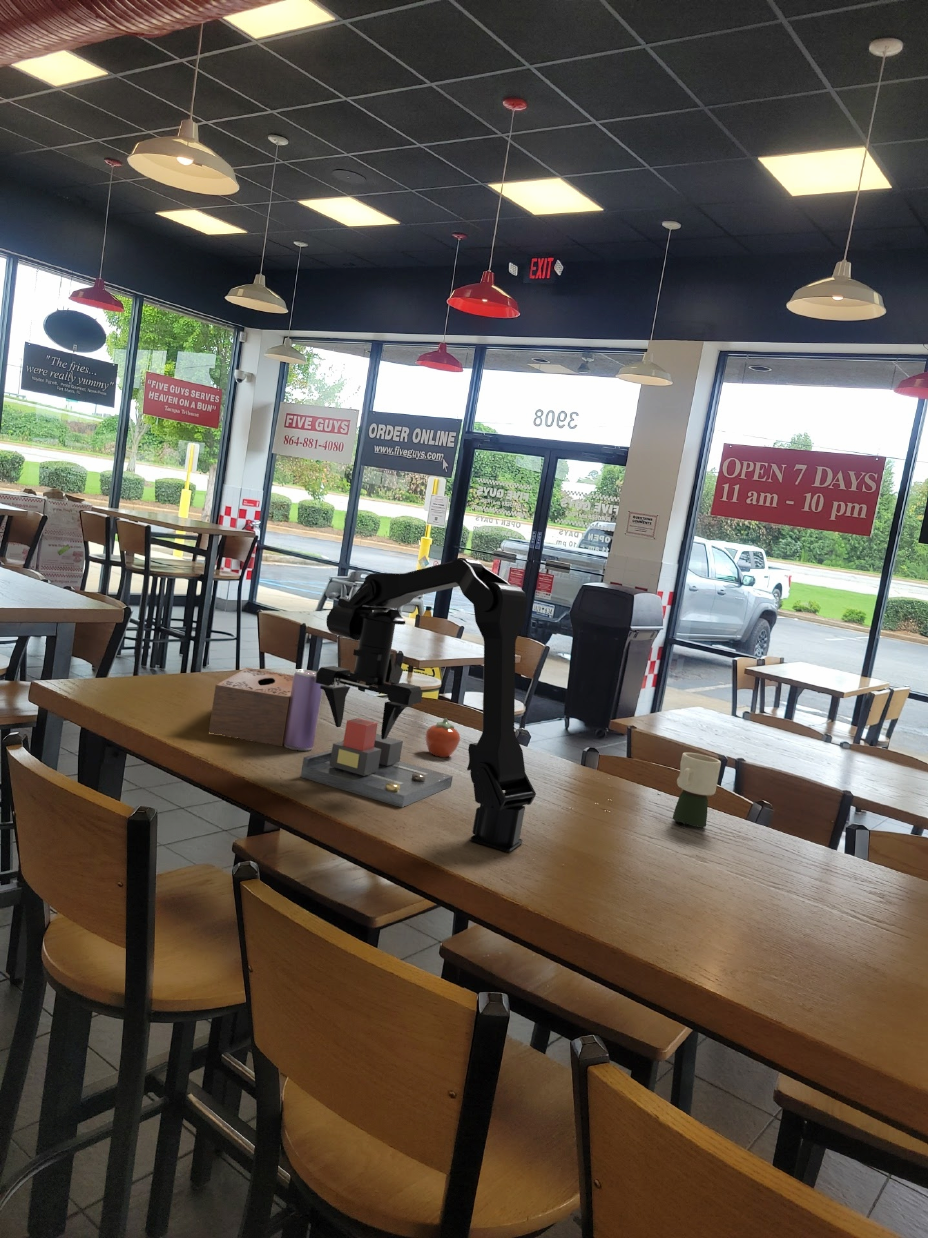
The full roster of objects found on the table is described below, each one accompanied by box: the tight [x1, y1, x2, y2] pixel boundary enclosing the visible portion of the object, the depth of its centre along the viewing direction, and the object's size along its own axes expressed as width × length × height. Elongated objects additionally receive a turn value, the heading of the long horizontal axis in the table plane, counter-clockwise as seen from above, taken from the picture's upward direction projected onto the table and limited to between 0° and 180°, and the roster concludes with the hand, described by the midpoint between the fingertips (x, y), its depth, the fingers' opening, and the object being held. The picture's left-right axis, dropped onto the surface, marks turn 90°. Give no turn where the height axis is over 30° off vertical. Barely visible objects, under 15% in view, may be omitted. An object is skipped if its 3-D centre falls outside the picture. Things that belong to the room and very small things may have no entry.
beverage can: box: [283, 669, 324, 752], centre depth 174 cm, size 6×6×15 cm
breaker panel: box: [300, 749, 454, 808], centre depth 160 cm, size 20×20×4 cm
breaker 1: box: [329, 740, 381, 776], centre depth 157 cm, size 7×5×4 cm
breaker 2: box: [374, 733, 404, 766], centre depth 167 cm, size 7×5×4 cm
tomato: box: [424, 717, 461, 758], centre depth 189 cm, size 7×7×8 cm
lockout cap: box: [343, 717, 379, 751], centre depth 157 cm, size 4×4×4 cm
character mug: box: [672, 752, 722, 828], centre depth 167 cm, size 11×7×13 cm, turn 138°
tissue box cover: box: [208, 667, 294, 747], centre depth 186 cm, size 26×14×10 cm, turn 0°
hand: (360, 733), depth 157 cm, fingers open, 9 cm apart
